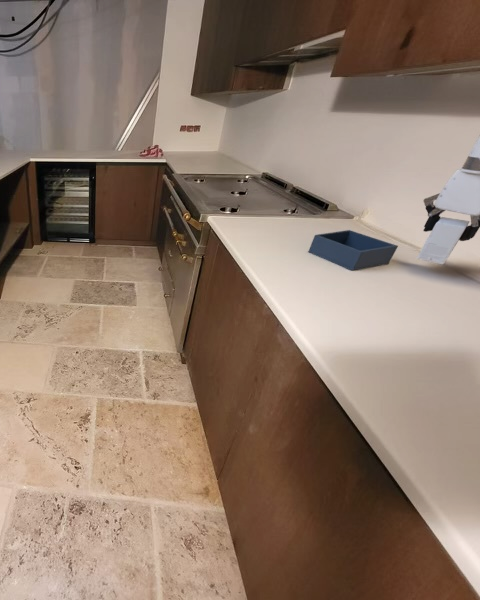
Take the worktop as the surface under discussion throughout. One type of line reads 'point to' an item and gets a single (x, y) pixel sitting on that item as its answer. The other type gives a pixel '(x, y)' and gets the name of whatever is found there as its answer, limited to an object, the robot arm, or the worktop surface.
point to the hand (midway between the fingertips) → (445, 234)
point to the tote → (352, 249)
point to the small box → (442, 240)
